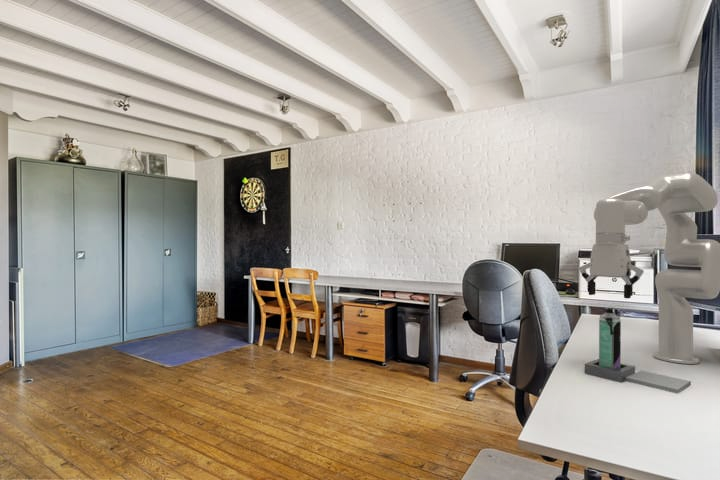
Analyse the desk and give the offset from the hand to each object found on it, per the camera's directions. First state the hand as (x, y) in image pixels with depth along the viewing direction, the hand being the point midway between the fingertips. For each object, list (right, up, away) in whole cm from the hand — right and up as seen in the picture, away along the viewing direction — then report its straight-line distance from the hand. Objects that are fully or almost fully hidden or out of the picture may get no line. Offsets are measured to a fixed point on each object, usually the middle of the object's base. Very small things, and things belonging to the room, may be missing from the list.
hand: (609, 296), depth 120 cm
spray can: (0, -24, 0) cm, 24 cm away
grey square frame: (0, -24, 0) cm, 24 cm away
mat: (+10, -24, -7) cm, 27 cm away
